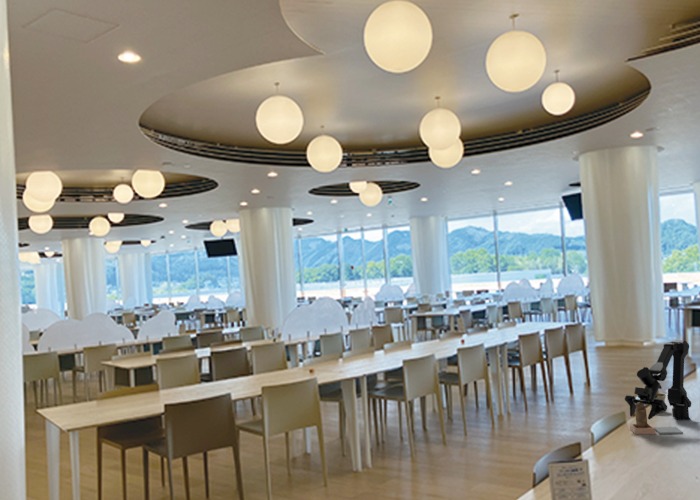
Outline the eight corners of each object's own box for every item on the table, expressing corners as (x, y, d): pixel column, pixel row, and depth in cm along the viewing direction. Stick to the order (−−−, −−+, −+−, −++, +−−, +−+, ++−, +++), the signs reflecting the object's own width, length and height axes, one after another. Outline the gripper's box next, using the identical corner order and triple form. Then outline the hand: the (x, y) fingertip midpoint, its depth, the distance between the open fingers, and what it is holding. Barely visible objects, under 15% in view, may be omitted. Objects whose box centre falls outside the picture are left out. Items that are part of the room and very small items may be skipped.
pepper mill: (646, 429, 286) (643, 400, 286) (649, 432, 281) (646, 403, 282) (635, 430, 287) (633, 401, 287) (638, 432, 282) (635, 403, 283)
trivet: (675, 428, 285) (675, 426, 285) (683, 434, 275) (683, 432, 275) (653, 428, 287) (653, 427, 287) (660, 434, 277) (659, 432, 277)
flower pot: (663, 408, 326) (661, 392, 326) (670, 412, 316) (669, 395, 317) (645, 409, 326) (643, 393, 327) (652, 413, 317) (650, 396, 318)
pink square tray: (649, 428, 287) (649, 423, 287) (655, 433, 279) (655, 428, 279) (629, 429, 289) (629, 423, 289) (635, 433, 280) (634, 428, 280)
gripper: (624, 378, 295) (613, 404, 288) (661, 382, 279) (650, 410, 273) (635, 392, 299) (624, 418, 292) (672, 396, 283) (661, 424, 277)
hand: (639, 417), depth 283 cm, fingers open, 9 cm apart
